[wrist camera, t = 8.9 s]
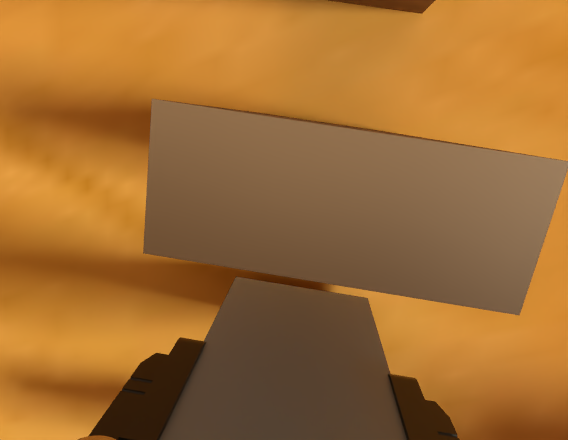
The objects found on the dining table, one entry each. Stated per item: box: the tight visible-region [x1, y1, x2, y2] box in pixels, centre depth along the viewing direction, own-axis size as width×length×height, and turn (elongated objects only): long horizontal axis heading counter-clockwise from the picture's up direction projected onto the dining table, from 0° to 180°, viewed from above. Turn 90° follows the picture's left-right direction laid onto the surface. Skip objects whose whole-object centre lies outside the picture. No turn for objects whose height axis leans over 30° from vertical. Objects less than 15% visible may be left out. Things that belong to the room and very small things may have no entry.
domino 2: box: [159, 277, 407, 440], centre depth 10 cm, size 2×5×10 cm, turn 82°
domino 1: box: [143, 99, 568, 315], centre depth 10 cm, size 2×5×10 cm, turn 82°
